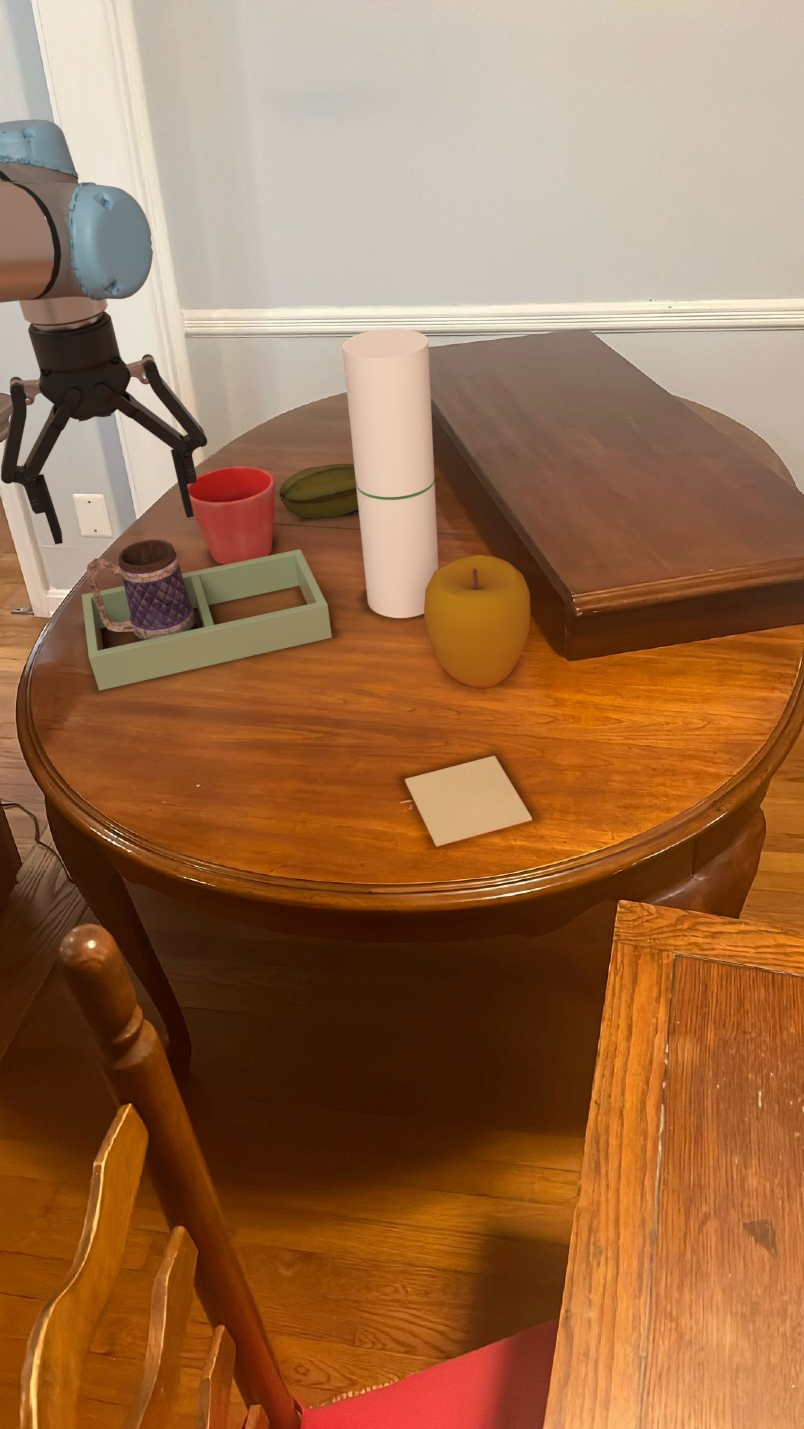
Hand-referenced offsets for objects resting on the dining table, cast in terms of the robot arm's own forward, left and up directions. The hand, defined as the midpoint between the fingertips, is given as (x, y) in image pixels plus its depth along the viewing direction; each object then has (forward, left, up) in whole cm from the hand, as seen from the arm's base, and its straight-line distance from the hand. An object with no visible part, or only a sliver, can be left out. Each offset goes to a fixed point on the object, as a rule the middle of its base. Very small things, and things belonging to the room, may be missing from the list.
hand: (124, 525), depth 104 cm
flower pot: (+13, +17, -15) cm, 26 cm away
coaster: (+24, -37, -15) cm, 47 cm away
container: (+29, -2, -15) cm, 33 cm away
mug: (0, 0, -15) cm, 15 cm away
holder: (+6, 0, -15) cm, 16 cm away
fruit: (+27, +23, -15) cm, 39 cm away
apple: (+32, -19, -15) cm, 40 cm away
